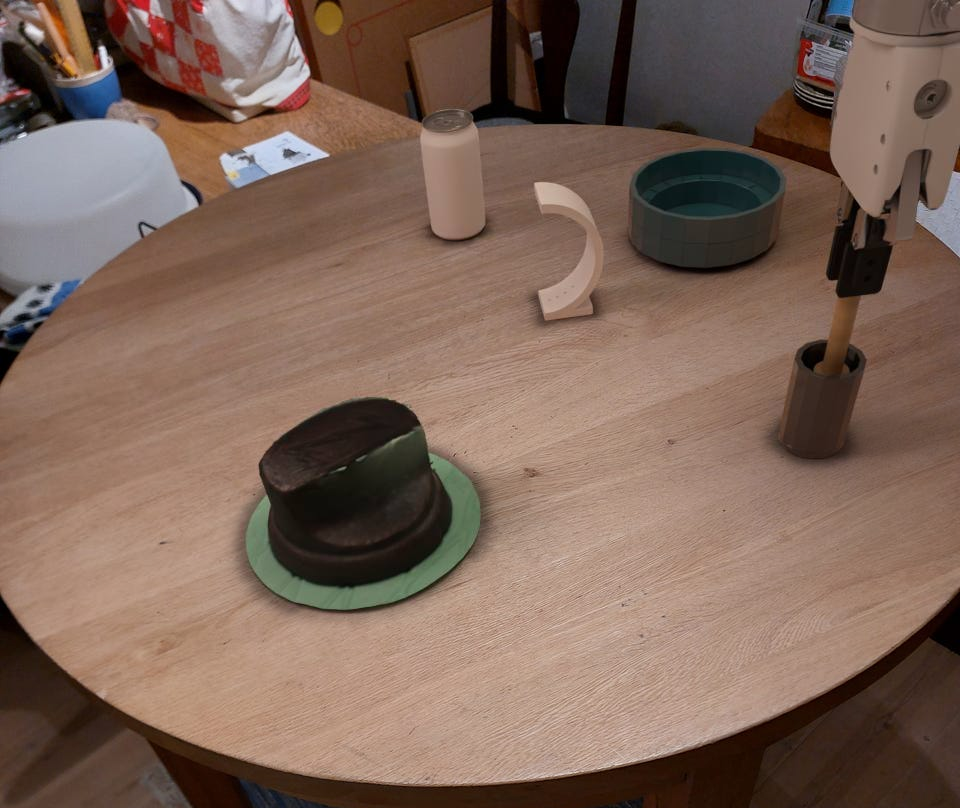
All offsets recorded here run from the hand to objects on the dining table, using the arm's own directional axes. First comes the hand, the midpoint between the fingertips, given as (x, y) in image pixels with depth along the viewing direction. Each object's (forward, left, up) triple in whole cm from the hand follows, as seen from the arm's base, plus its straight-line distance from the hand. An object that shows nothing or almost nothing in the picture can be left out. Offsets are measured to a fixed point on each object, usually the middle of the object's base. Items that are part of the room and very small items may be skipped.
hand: (852, 283), depth 67 cm
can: (+29, -44, -15) cm, 55 cm away
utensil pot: (0, 0, -14) cm, 14 cm away
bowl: (+2, -36, -14) cm, 39 cm away
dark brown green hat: (+39, +5, -15) cm, 42 cm away
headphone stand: (+18, -25, -15) cm, 34 cm away
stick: (0, 0, -12) cm, 12 cm away
